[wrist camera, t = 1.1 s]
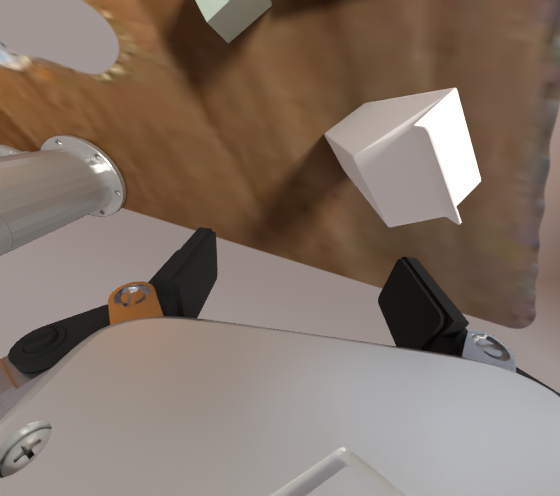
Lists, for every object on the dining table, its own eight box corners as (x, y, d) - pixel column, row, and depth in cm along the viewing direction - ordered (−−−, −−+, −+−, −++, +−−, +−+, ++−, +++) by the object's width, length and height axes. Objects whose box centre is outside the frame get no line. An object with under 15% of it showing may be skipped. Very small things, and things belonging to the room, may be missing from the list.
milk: (364, 102, 27) (510, 71, 8) (383, 145, 30) (531, 195, 11) (322, 134, 29) (364, 165, 11) (343, 172, 32) (408, 251, 13)
